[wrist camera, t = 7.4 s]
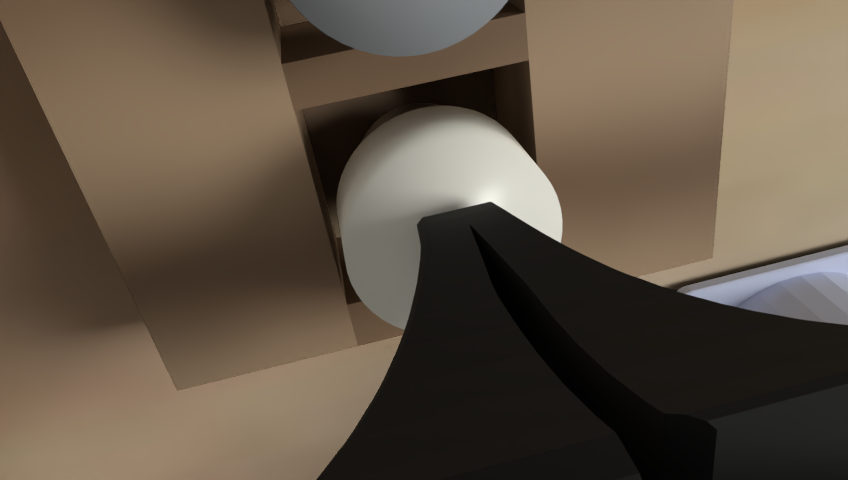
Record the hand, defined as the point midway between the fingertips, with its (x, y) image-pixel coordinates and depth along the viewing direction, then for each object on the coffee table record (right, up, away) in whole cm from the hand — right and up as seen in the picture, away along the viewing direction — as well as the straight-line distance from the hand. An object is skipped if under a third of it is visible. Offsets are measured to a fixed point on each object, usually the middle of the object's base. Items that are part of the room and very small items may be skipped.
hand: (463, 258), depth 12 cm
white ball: (-1, +2, +4) cm, 4 cm away
